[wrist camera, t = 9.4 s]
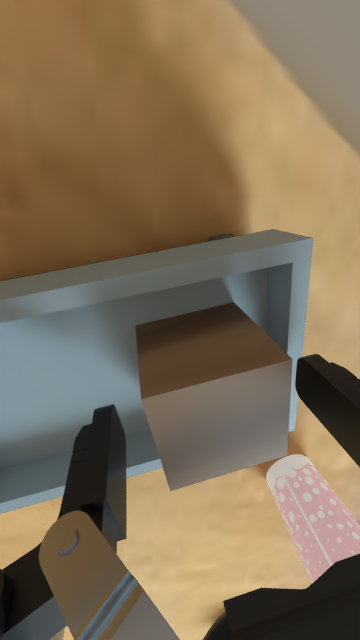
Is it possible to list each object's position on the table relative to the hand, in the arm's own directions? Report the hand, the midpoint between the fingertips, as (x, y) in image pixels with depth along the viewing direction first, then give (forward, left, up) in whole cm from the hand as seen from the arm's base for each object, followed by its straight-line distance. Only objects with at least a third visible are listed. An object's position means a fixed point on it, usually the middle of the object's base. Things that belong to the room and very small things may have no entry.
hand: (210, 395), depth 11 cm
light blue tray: (-4, 0, -6) cm, 7 cm away
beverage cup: (+8, -18, -6) cm, 21 cm away
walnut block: (0, 0, -3) cm, 3 cm away
